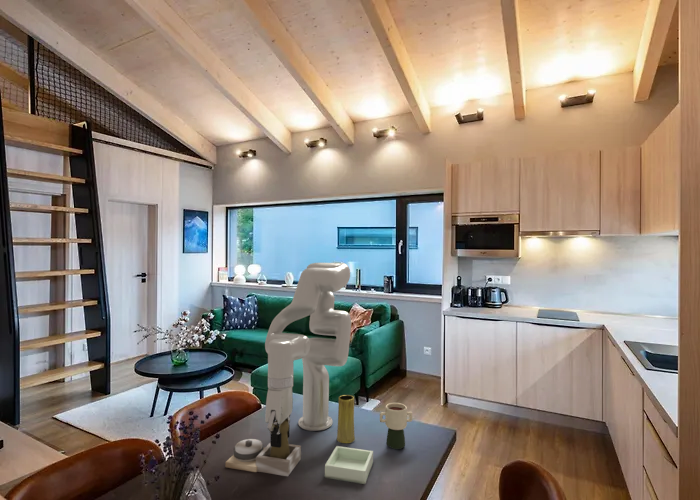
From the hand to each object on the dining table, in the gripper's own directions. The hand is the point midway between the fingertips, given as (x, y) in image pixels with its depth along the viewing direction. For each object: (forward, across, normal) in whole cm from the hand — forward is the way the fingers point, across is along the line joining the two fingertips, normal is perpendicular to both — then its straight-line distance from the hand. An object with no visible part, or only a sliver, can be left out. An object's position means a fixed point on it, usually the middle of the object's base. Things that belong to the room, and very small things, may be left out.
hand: (280, 441), depth 118 cm
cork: (+5, 0, 0) cm, 5 cm away
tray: (+7, -2, +21) cm, 22 cm away
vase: (+7, -20, +15) cm, 26 cm away
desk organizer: (+7, +1, -5) cm, 8 cm away
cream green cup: (+7, -20, +32) cm, 39 cm away
